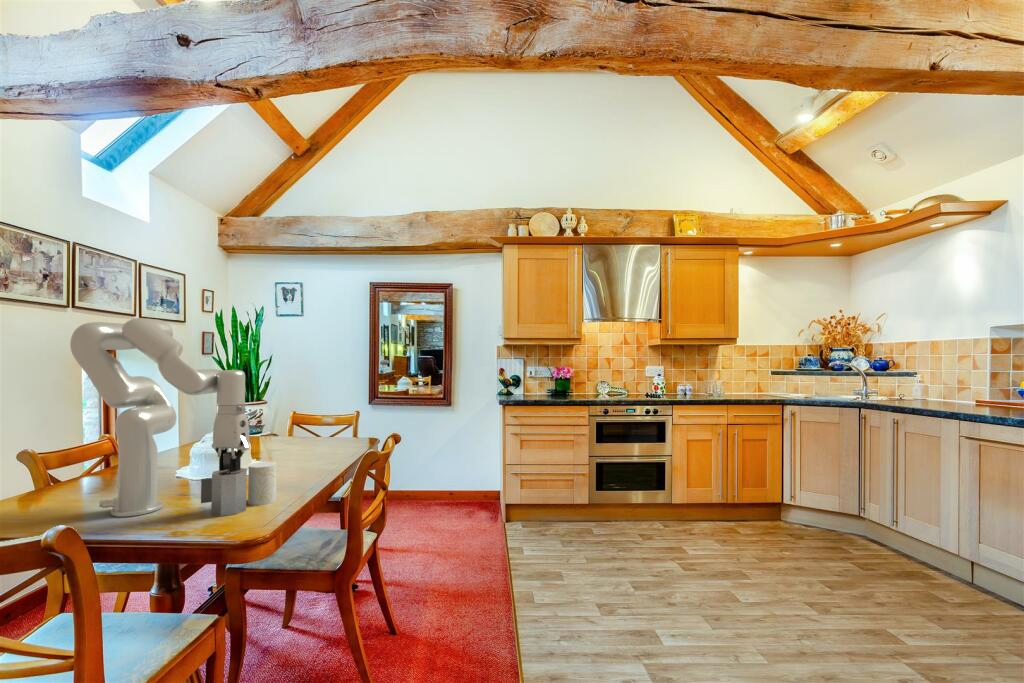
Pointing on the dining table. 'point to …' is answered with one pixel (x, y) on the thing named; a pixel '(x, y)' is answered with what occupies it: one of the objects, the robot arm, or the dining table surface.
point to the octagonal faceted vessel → (225, 492)
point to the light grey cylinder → (262, 483)
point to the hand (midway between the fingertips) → (229, 469)
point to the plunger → (227, 460)
